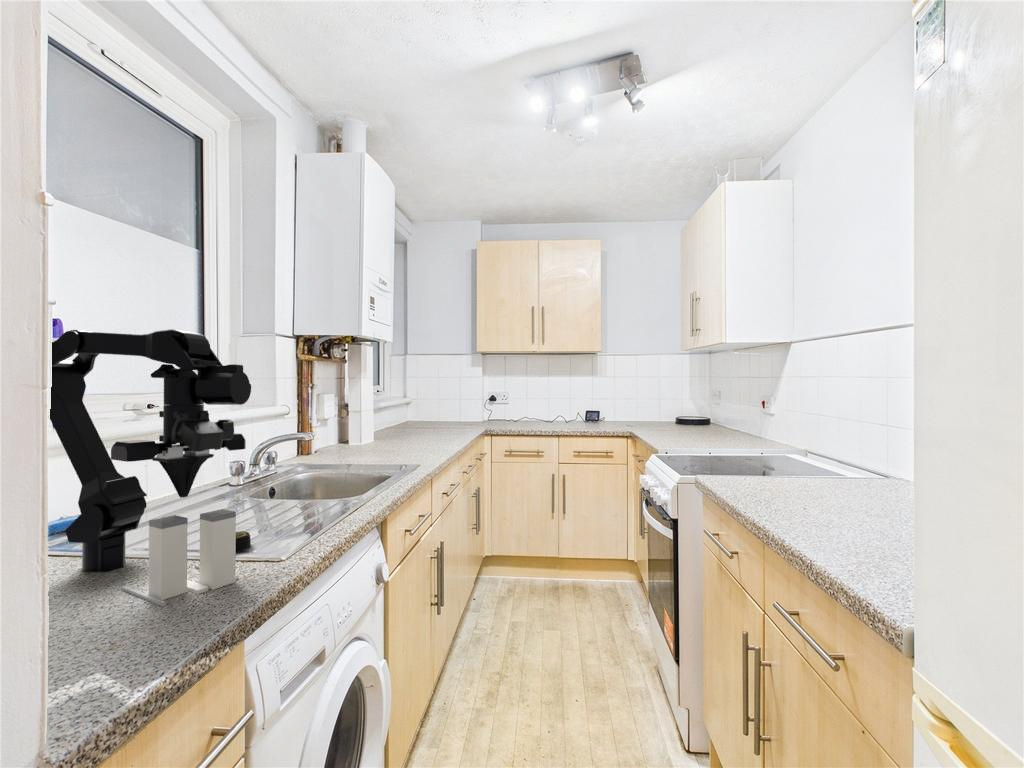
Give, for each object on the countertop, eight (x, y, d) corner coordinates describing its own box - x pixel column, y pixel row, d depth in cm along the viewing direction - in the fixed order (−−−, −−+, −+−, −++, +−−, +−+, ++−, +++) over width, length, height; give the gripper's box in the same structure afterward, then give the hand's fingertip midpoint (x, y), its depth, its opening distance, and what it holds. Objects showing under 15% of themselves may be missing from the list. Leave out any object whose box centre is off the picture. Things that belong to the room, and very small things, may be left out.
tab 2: (199, 585, 76) (199, 513, 76) (222, 577, 79) (222, 509, 79) (212, 589, 74) (213, 516, 75) (235, 581, 78) (235, 511, 78)
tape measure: (227, 548, 98) (227, 529, 98) (258, 550, 97) (258, 530, 97) (200, 560, 91) (200, 539, 91) (232, 562, 90) (232, 541, 90)
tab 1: (148, 595, 72) (148, 520, 72) (174, 587, 75) (174, 515, 76) (161, 600, 71) (161, 523, 71) (187, 591, 74) (187, 518, 74)
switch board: (116, 594, 75) (116, 584, 75) (192, 571, 85) (192, 562, 85) (164, 614, 69) (165, 603, 69) (241, 586, 78) (241, 577, 78)
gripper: (145, 407, 72) (145, 515, 72) (264, 404, 88) (264, 491, 88) (109, 406, 77) (108, 506, 77) (227, 403, 94) (227, 485, 93)
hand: (183, 496), depth 84 cm, fingers closed
